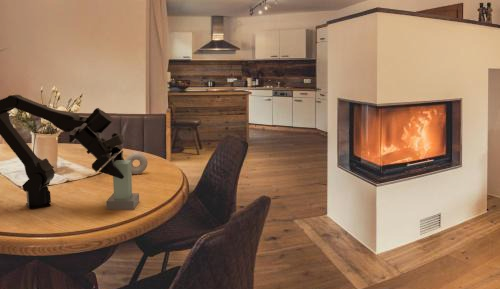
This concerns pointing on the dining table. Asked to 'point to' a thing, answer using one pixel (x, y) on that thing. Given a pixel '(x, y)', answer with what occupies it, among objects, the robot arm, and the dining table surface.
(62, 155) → the dining table surface
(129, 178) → the sage green block
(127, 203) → the slate plinth
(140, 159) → the donut
